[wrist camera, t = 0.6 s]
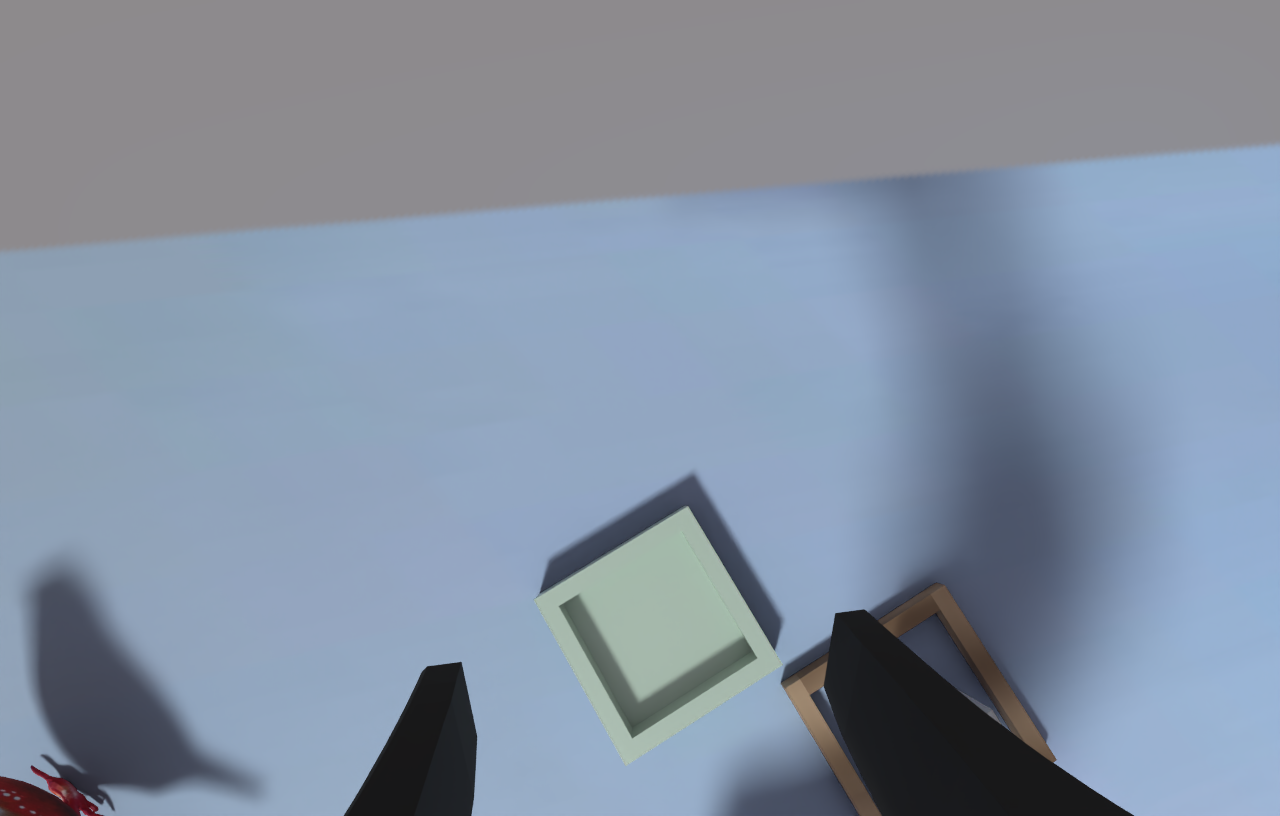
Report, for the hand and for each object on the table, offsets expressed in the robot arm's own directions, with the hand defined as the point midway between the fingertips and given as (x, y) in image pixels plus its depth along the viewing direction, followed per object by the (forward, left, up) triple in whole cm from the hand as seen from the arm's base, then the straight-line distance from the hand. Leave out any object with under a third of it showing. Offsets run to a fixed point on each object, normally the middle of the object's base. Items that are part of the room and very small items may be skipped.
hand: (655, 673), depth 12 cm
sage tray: (-4, +1, -24) cm, 25 cm away
